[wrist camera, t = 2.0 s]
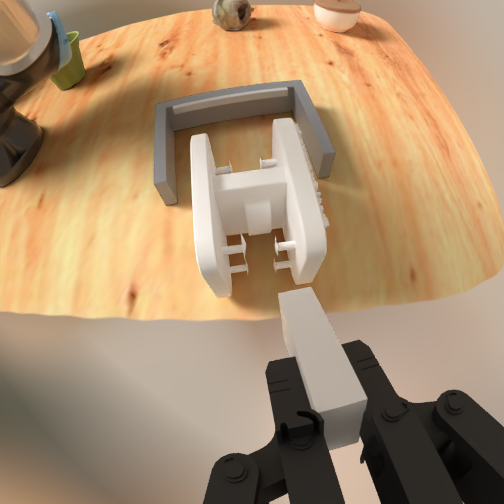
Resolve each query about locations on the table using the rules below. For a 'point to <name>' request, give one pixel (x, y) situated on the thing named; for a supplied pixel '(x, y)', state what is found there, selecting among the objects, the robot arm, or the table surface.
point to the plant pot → (70, 66)
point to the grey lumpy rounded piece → (231, 13)
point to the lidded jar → (337, 14)
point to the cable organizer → (257, 208)
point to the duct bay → (233, 107)
